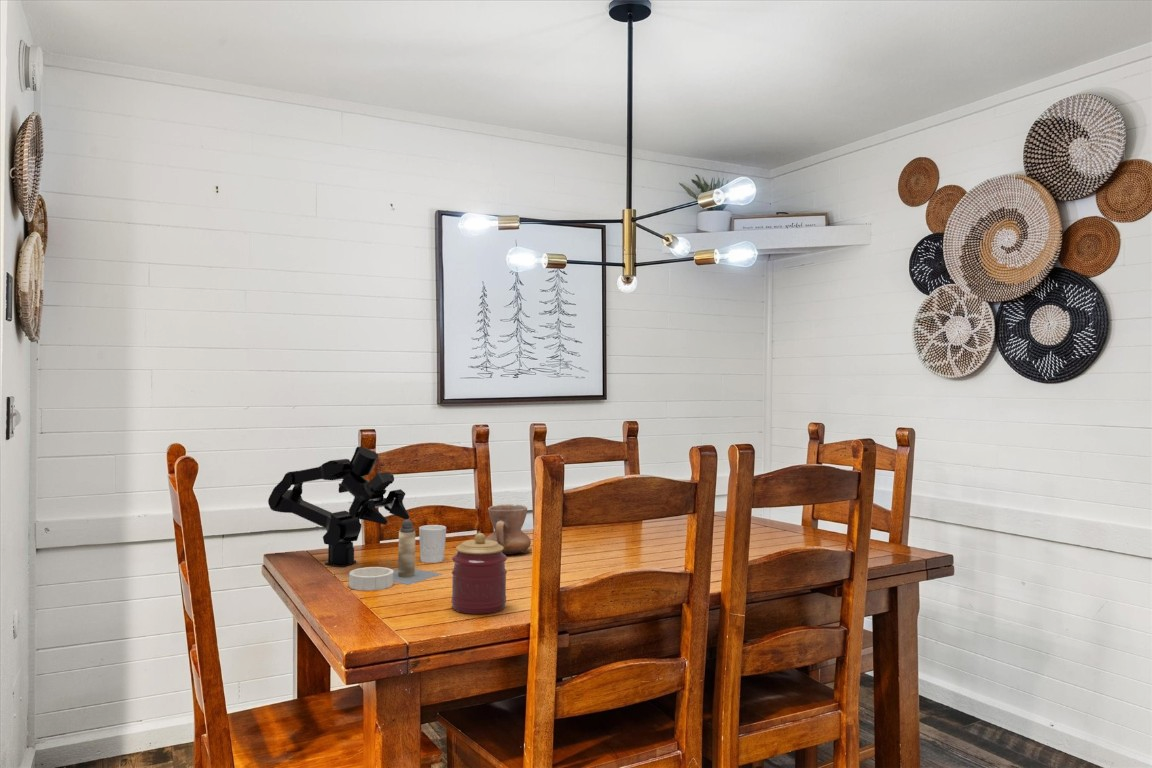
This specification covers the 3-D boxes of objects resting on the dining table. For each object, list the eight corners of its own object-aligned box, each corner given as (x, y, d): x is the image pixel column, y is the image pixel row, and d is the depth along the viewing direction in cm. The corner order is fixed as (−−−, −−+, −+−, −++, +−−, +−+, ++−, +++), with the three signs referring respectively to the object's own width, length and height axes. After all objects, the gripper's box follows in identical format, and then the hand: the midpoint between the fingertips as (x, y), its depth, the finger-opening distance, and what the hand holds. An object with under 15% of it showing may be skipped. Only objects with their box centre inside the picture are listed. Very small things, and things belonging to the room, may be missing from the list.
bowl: (340, 588, 204) (340, 574, 204) (365, 578, 214) (365, 565, 214) (377, 593, 200) (377, 579, 200) (401, 583, 211) (401, 569, 211)
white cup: (439, 565, 232) (440, 530, 232) (414, 563, 233) (414, 529, 233) (449, 559, 239) (450, 525, 239) (424, 557, 241) (425, 524, 241)
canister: (459, 617, 182) (460, 540, 181) (445, 602, 193) (446, 529, 193) (513, 612, 187) (515, 536, 187) (496, 597, 199) (497, 526, 198)
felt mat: (368, 578, 215) (368, 577, 215) (404, 568, 227) (405, 567, 227) (407, 585, 208) (407, 584, 208) (443, 575, 220) (443, 573, 220)
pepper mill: (394, 576, 216) (395, 520, 216) (403, 572, 220) (404, 517, 220) (409, 578, 215) (410, 521, 215) (417, 574, 219) (418, 518, 219)
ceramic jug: (495, 545, 261) (495, 501, 261) (537, 547, 257) (537, 503, 257) (474, 557, 243) (474, 511, 243) (519, 560, 240) (519, 513, 239)
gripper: (349, 467, 217) (387, 501, 211) (394, 462, 234) (431, 493, 227) (332, 501, 220) (370, 535, 213) (378, 493, 236) (414, 524, 230)
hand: (397, 520), depth 221 cm, fingers open, 9 cm apart
